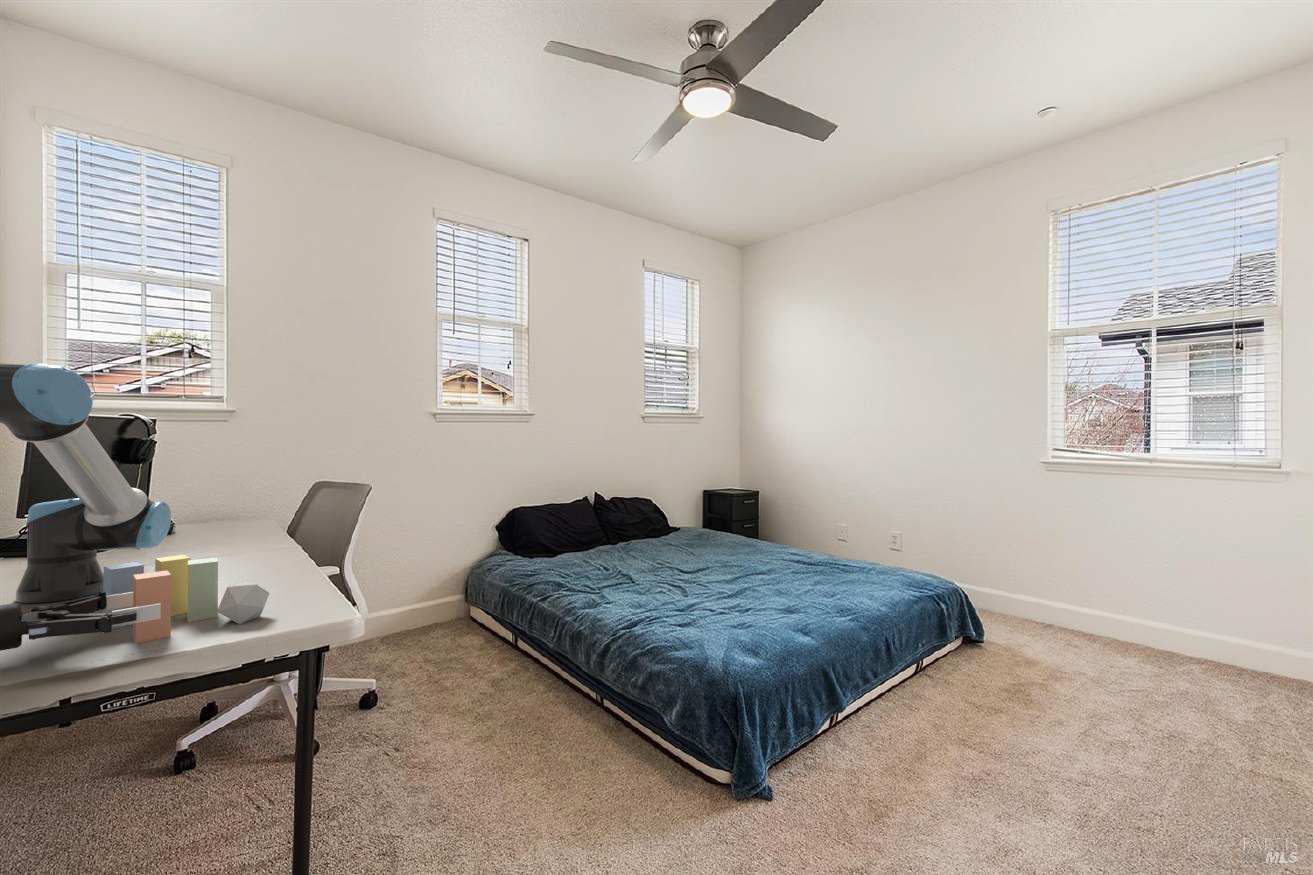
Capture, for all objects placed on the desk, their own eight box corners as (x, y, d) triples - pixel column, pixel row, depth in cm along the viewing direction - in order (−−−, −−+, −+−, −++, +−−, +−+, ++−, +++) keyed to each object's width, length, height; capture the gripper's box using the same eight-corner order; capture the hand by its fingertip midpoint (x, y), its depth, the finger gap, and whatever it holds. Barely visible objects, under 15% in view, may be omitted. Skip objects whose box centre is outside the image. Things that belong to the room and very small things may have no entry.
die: (274, 622, 120) (280, 580, 126) (238, 613, 113) (246, 568, 119) (241, 634, 121) (249, 591, 127) (203, 625, 114) (213, 581, 120)
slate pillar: (103, 624, 116) (103, 566, 116) (135, 617, 121) (135, 561, 121) (111, 629, 114) (111, 569, 114) (143, 622, 118) (143, 564, 118)
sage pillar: (187, 615, 122) (187, 560, 122) (216, 611, 125) (217, 557, 125) (187, 621, 118) (187, 564, 118) (217, 617, 122) (217, 561, 121)
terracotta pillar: (132, 636, 110) (133, 574, 110) (166, 630, 113) (167, 570, 113) (135, 643, 106) (136, 579, 106) (170, 636, 110) (171, 574, 110)
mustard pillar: (154, 613, 124) (155, 558, 124) (183, 607, 128) (184, 554, 128) (160, 617, 121) (161, 561, 121) (190, 612, 125) (190, 557, 125)
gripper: (-9, 633, 103) (148, 608, 118) (-20, 674, 86) (164, 638, 101) (-9, 592, 103) (148, 572, 118) (-20, 625, 86) (164, 596, 101)
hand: (156, 603), depth 110 cm, fingers open, 13 cm apart
